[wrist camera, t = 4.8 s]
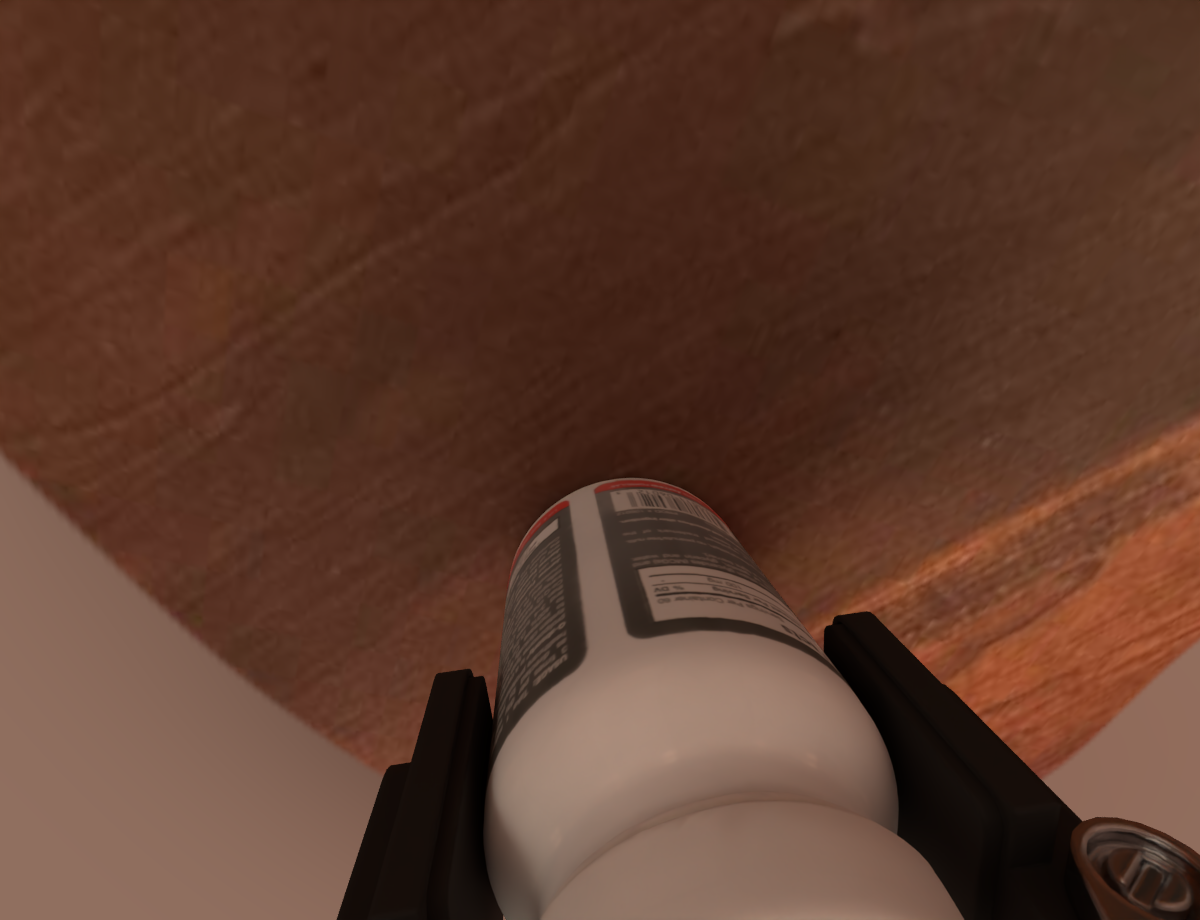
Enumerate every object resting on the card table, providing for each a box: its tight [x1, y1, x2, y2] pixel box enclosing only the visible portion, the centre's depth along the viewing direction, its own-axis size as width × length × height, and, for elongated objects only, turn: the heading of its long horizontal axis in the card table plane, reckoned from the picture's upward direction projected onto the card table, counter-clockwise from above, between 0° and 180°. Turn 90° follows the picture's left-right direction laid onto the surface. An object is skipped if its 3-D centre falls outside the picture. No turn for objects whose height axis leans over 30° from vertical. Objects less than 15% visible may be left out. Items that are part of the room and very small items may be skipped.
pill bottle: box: [483, 478, 964, 920], centre depth 10 cm, size 6×6×10 cm
